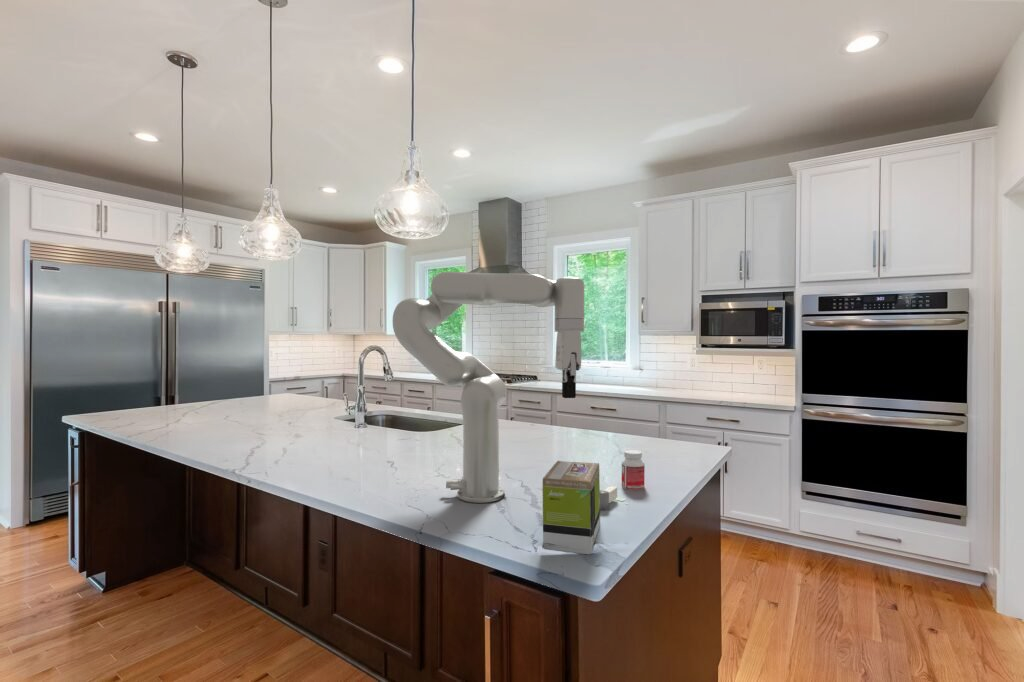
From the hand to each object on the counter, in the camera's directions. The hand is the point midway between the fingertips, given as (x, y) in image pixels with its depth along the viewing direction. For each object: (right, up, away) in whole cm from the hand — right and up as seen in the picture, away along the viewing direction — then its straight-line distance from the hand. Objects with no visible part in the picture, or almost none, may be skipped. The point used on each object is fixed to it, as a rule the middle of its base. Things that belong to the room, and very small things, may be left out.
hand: (568, 397), depth 129 cm
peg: (+9, -26, -5) cm, 28 cm away
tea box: (-2, -27, -23) cm, 36 cm away
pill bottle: (+19, -27, +10) cm, 35 cm away
